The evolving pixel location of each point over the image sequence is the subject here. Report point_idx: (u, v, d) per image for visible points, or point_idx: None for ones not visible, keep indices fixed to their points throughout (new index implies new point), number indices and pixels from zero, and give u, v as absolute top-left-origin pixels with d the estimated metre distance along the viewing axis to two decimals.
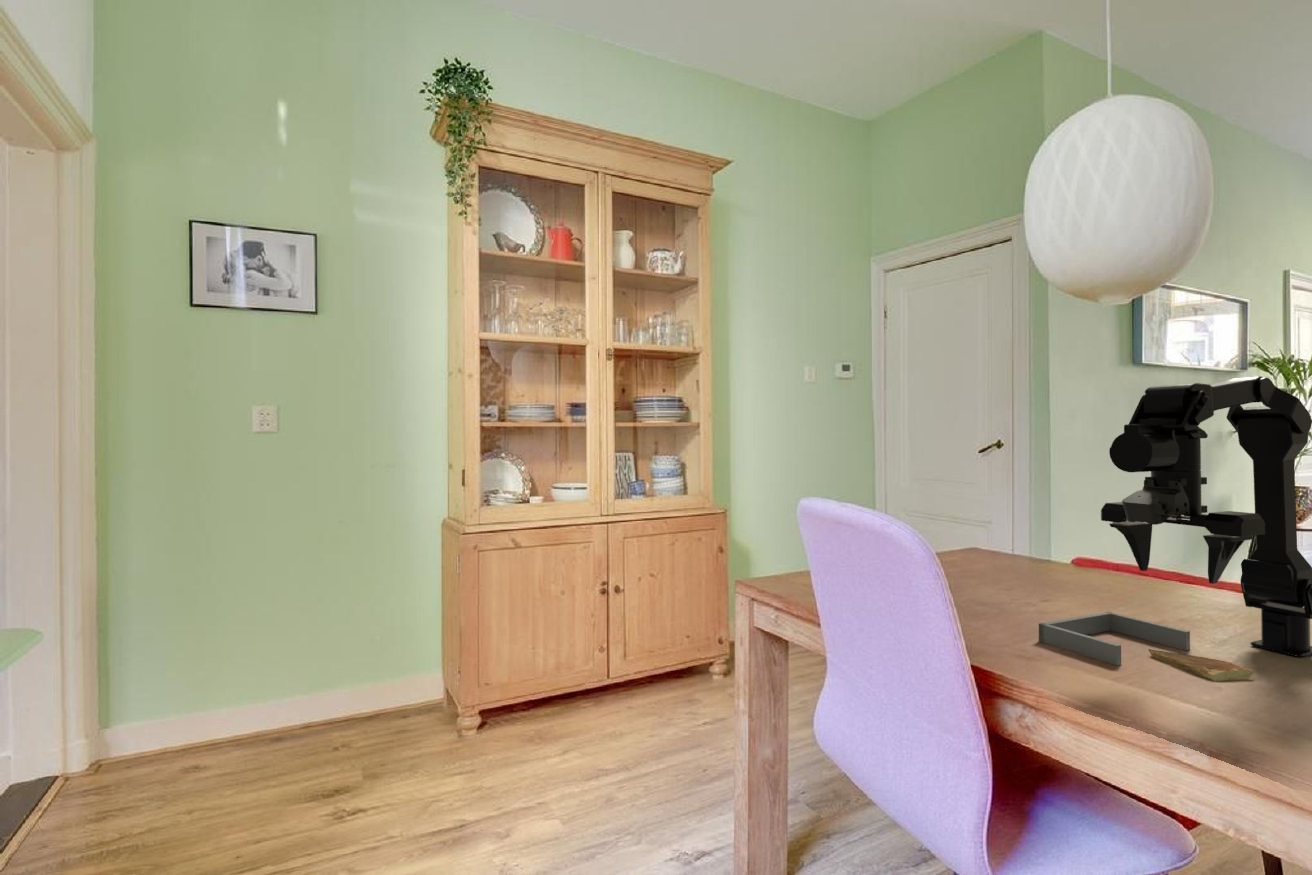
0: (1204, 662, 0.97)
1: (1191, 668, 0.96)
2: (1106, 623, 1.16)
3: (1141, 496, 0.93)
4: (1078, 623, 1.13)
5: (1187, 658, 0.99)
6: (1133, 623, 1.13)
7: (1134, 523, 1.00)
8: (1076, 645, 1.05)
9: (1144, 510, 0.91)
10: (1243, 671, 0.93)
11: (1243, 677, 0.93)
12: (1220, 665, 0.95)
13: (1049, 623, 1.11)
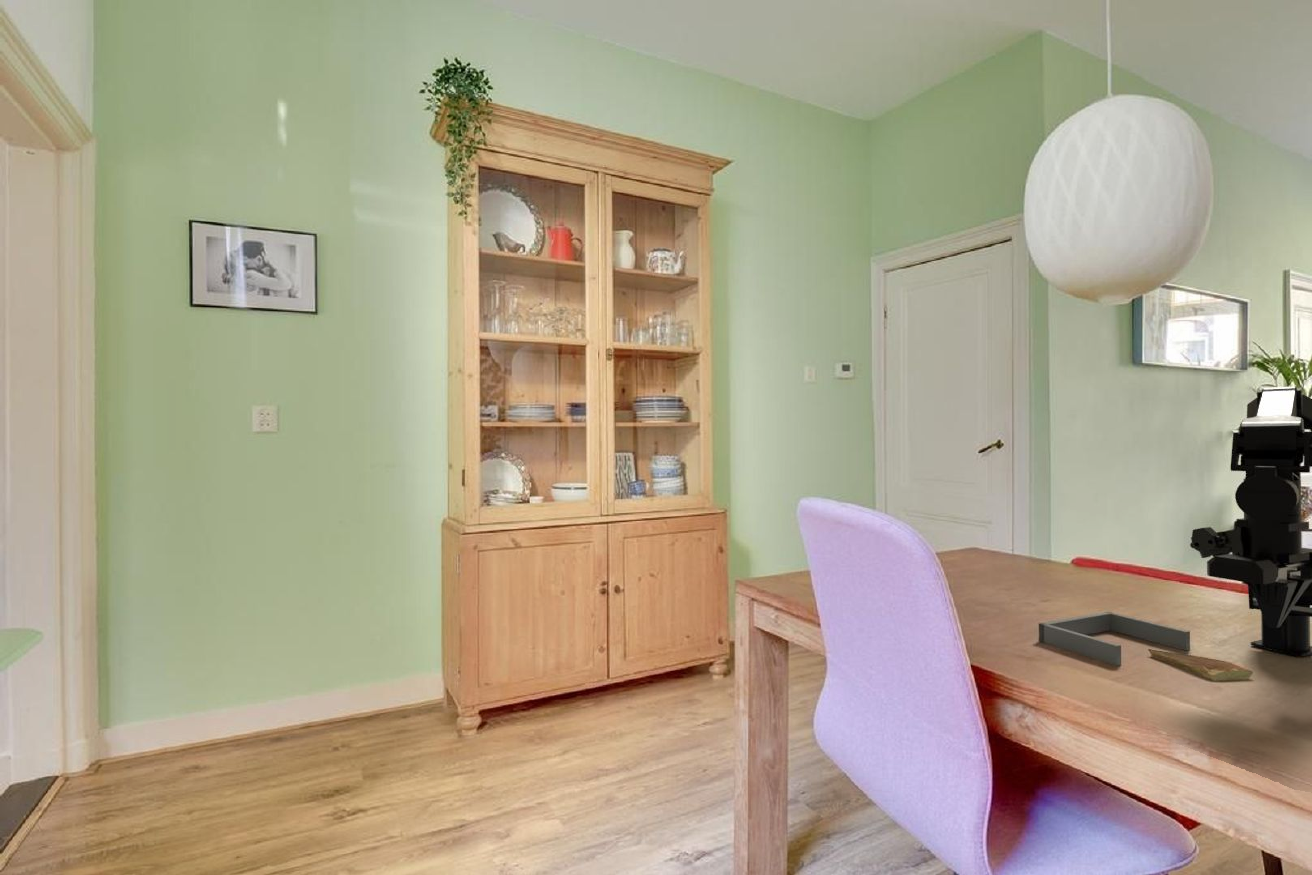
0: (1204, 662, 0.97)
1: (1191, 668, 0.96)
2: (1106, 623, 1.16)
3: None
4: (1078, 623, 1.13)
5: (1187, 658, 0.99)
6: (1133, 623, 1.13)
7: None
8: (1076, 645, 1.05)
9: None
10: (1243, 671, 0.93)
11: (1243, 677, 0.93)
12: (1220, 665, 0.95)
13: (1049, 623, 1.11)
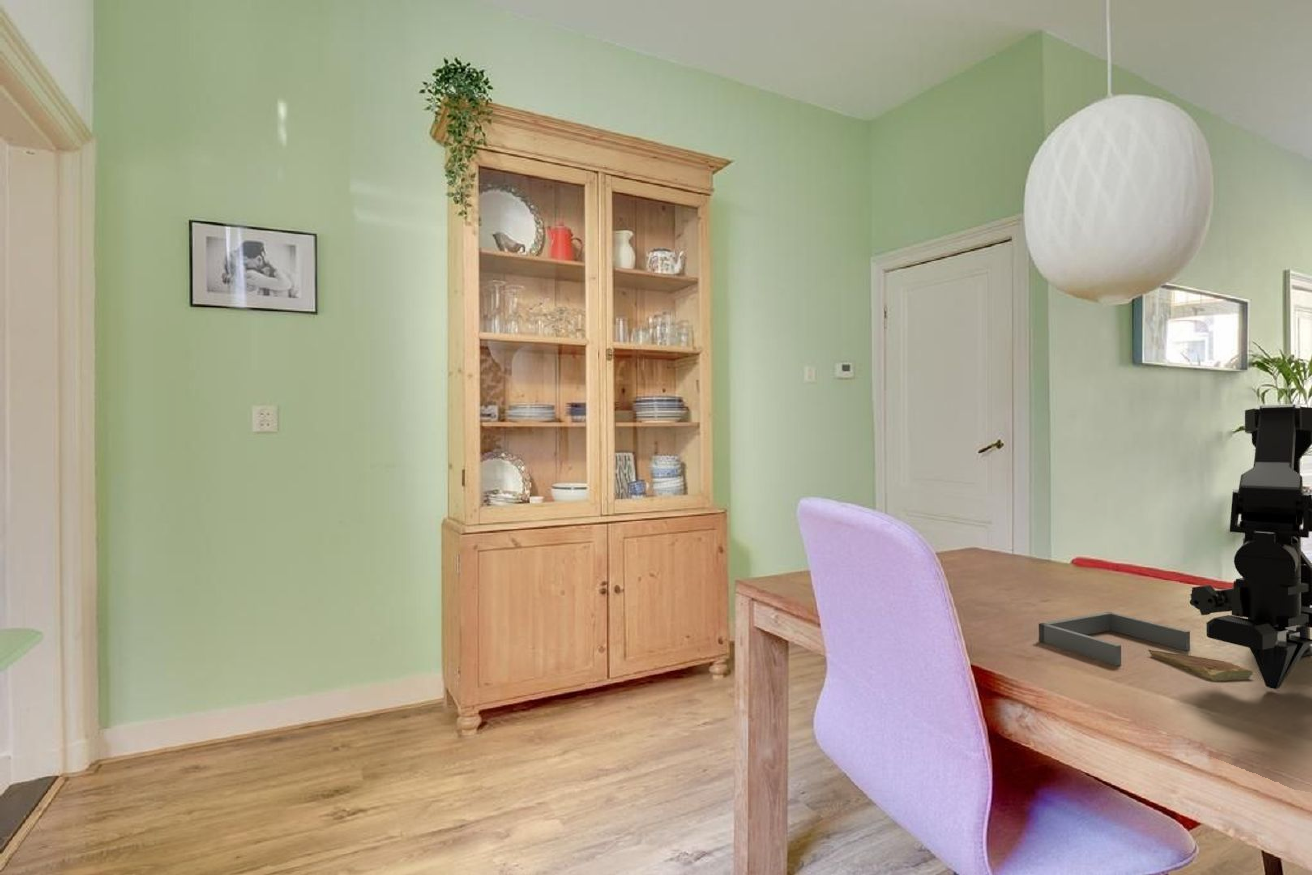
0: (1204, 662, 0.97)
1: (1191, 668, 0.96)
2: (1106, 623, 1.16)
3: None
4: (1078, 623, 1.13)
5: (1187, 658, 0.99)
6: (1133, 623, 1.13)
7: None
8: (1076, 645, 1.05)
9: None
10: (1243, 671, 0.93)
11: (1243, 677, 0.93)
12: (1220, 665, 0.95)
13: (1049, 623, 1.11)
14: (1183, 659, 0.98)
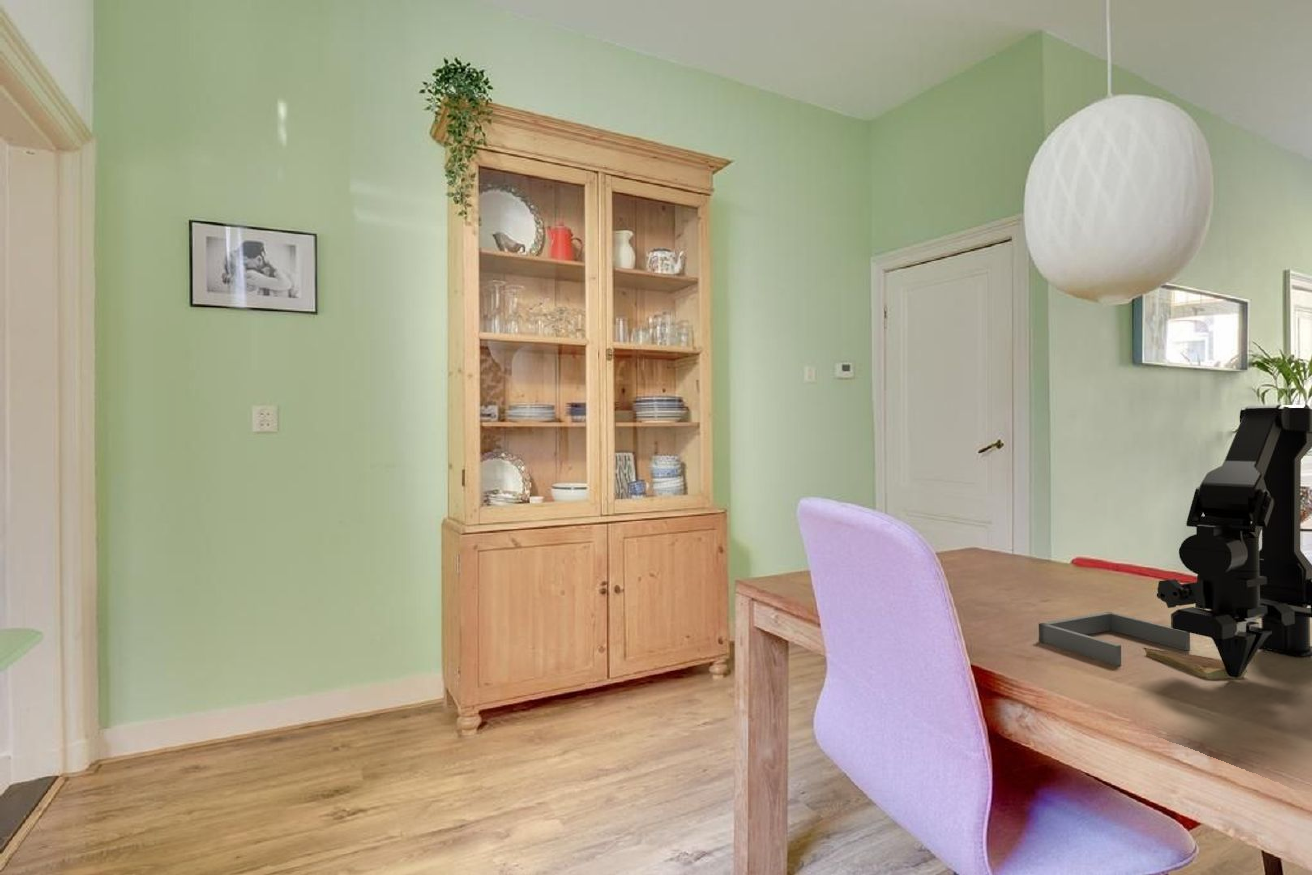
0: (1199, 660, 0.97)
1: (1186, 666, 0.96)
2: (1106, 623, 1.16)
3: None
4: (1078, 623, 1.13)
5: (1182, 656, 0.99)
6: (1133, 623, 1.13)
7: None
8: (1076, 645, 1.05)
9: None
10: None
11: None
12: (1215, 663, 0.96)
13: (1049, 623, 1.11)
14: (1178, 657, 0.99)
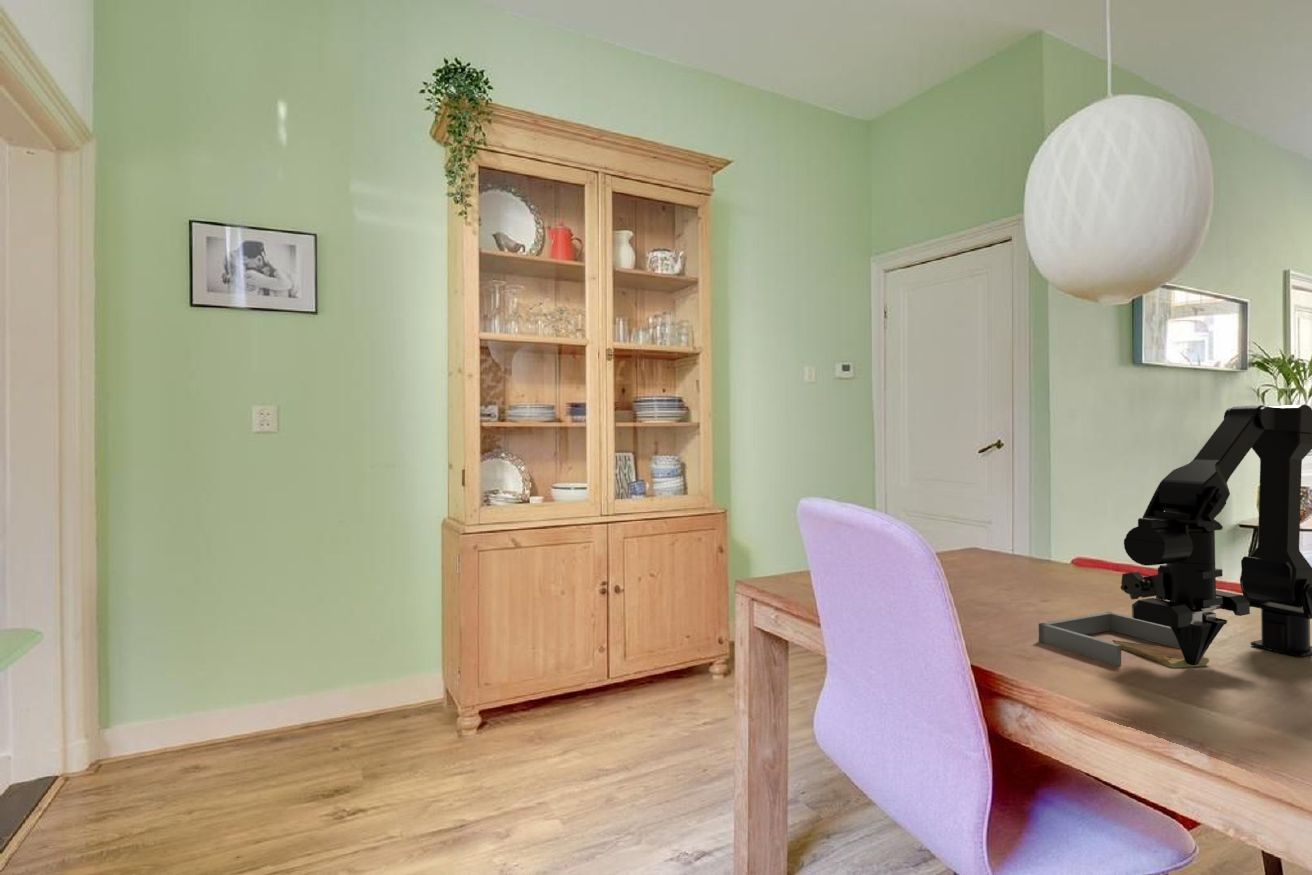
0: (1164, 651, 1.02)
1: (1153, 657, 1.01)
2: (1106, 623, 1.16)
3: None
4: (1078, 623, 1.13)
5: (1148, 648, 1.04)
6: (1133, 623, 1.13)
7: None
8: (1076, 645, 1.05)
9: None
10: None
11: (1200, 664, 0.99)
12: (1179, 654, 1.00)
13: (1049, 623, 1.11)
14: (1145, 649, 1.04)
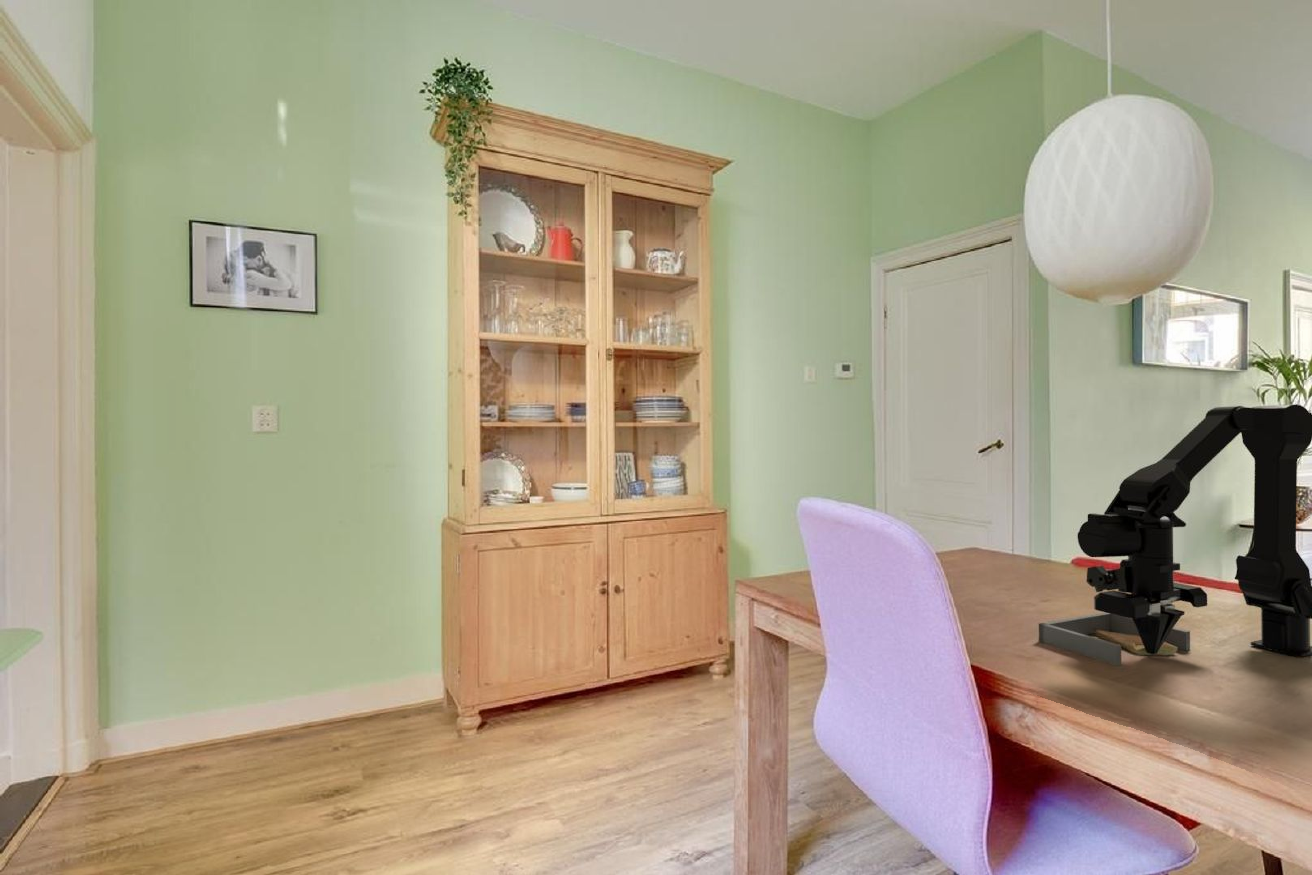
0: (1136, 639, 1.07)
1: (1122, 644, 1.07)
2: (1106, 623, 1.16)
3: None
4: (1078, 623, 1.13)
5: (1123, 636, 1.10)
6: (1133, 623, 1.13)
7: None
8: (1076, 645, 1.05)
9: None
10: (1168, 647, 1.04)
11: (1168, 652, 1.04)
12: None
13: (1049, 623, 1.11)
14: (1119, 637, 1.09)
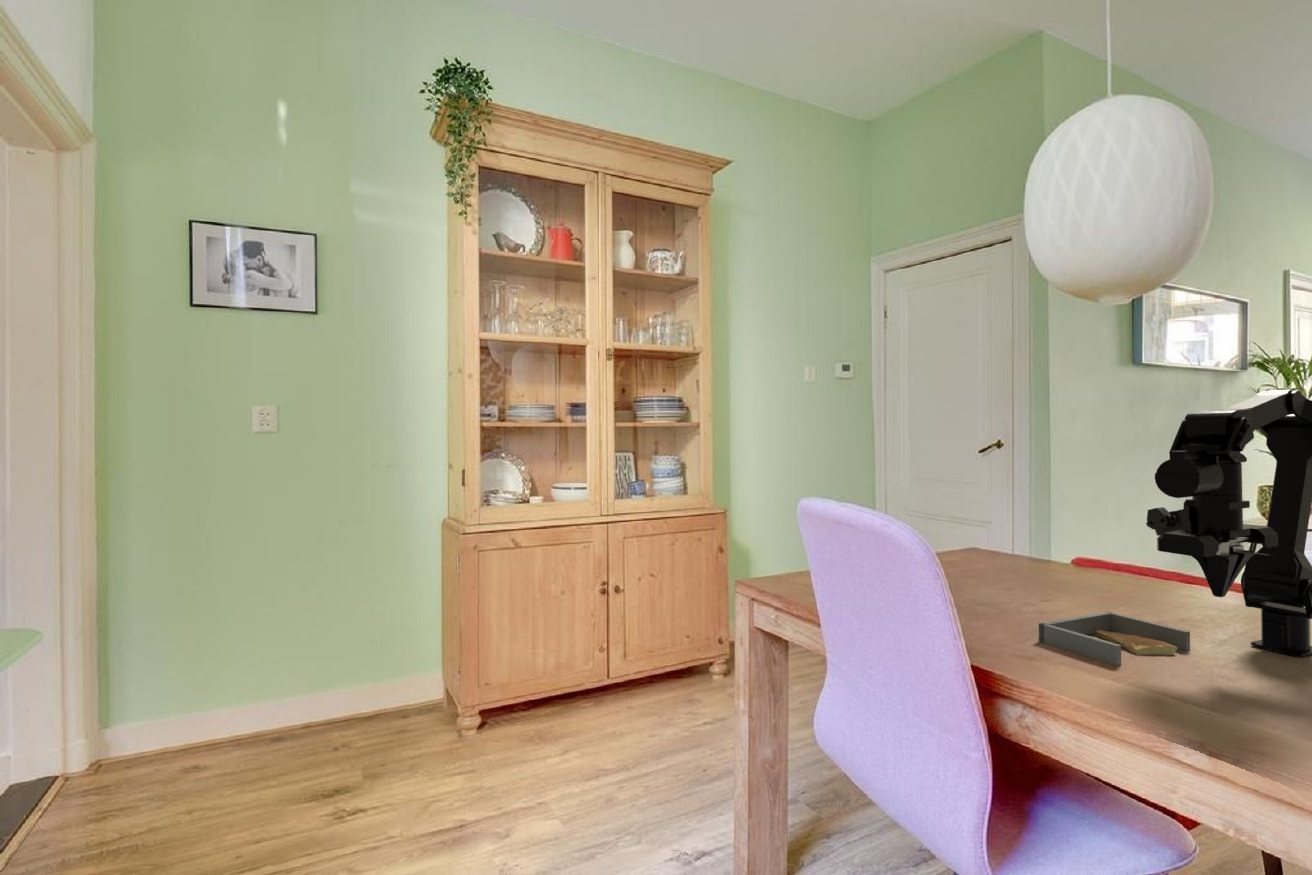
0: (1136, 639, 1.07)
1: (1122, 644, 1.07)
2: (1106, 623, 1.16)
3: None
4: (1078, 623, 1.13)
5: (1123, 636, 1.10)
6: (1133, 623, 1.13)
7: None
8: (1076, 645, 1.05)
9: None
10: (1167, 647, 1.04)
11: (1168, 652, 1.04)
12: (1149, 642, 1.06)
13: (1049, 623, 1.11)
14: (1119, 636, 1.09)
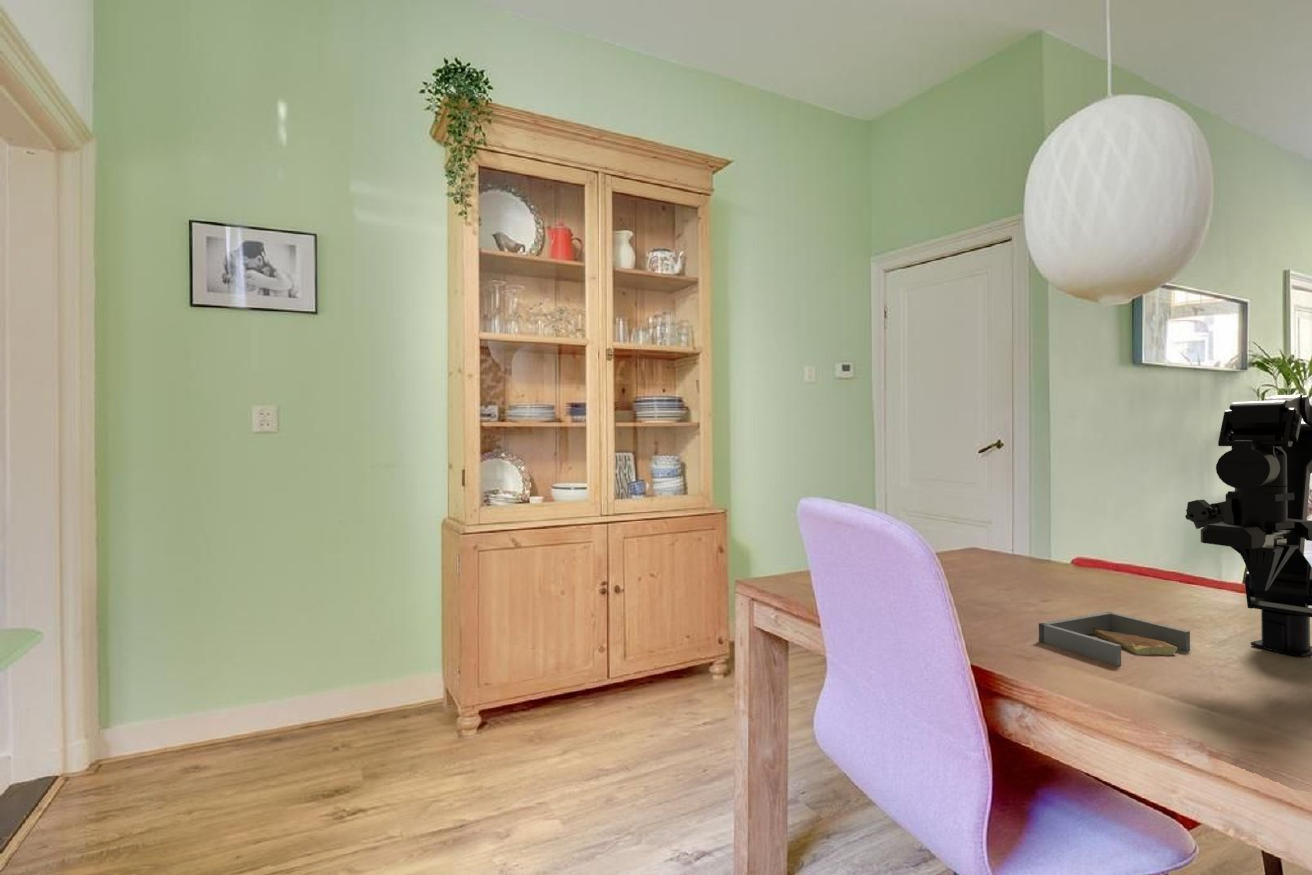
0: (1136, 639, 1.07)
1: (1122, 644, 1.07)
2: (1106, 623, 1.16)
3: None
4: (1078, 623, 1.13)
5: (1123, 636, 1.10)
6: (1133, 623, 1.13)
7: None
8: (1076, 645, 1.05)
9: None
10: (1167, 647, 1.04)
11: (1168, 652, 1.04)
12: (1149, 642, 1.06)
13: (1049, 623, 1.11)
14: (1119, 636, 1.09)
